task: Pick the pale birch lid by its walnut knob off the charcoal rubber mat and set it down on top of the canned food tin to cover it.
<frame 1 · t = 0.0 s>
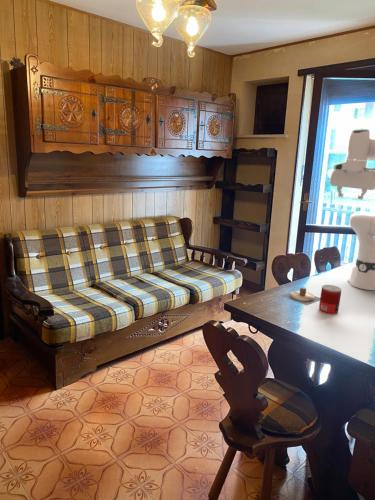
hand: (350, 198, 175), 48 cm above the table, tool pointing down, fingers open, 8 cm apart
mat: (301, 298, 183), on the table
canned food: (328, 311, 169), on the table
lid: (302, 297, 183), resting on mat
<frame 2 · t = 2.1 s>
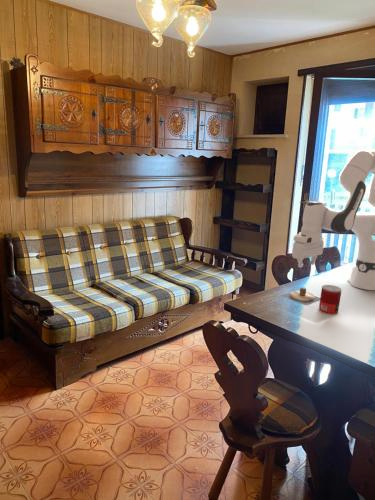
hand: (306, 265, 179), 16 cm above the table, tool pointing down, fingers open, 8 cm apart
nothing on the table moved.
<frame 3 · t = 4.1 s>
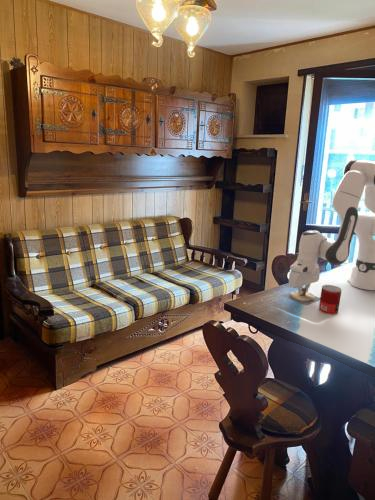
hand: (302, 293, 183), 2 cm above the table, tool pointing down, fingers closed on lid, 3 cm apart
lid: (302, 297, 183), resting on mat, touching gripper
everything else where it was.
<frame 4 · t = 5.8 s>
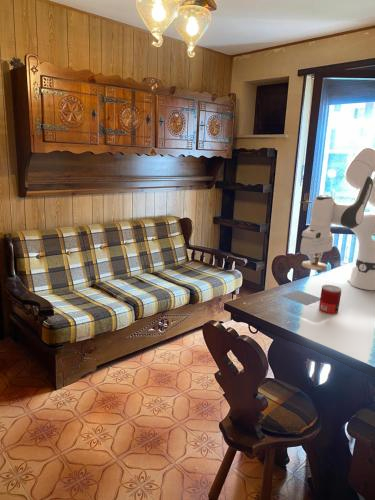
hand: (314, 262, 174), 19 cm above the table, tool pointing down, fingers closed on lid, 3 cm apart
lid: (314, 266, 175), point 17 cm above the table, touching gripper
everything else where it was.
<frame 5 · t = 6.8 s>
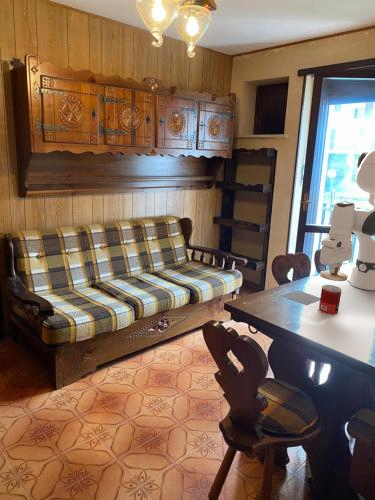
hand: (334, 272, 165), 18 cm above the table, tool pointing down, fingers closed on lid, 3 cm apart
lid: (333, 277, 165), point 16 cm above the table, touching gripper
everything else where it was.
when the fingers open (15 cm above the table, at t = 7.5 s): lid drops 2 cm, resting on canned food.
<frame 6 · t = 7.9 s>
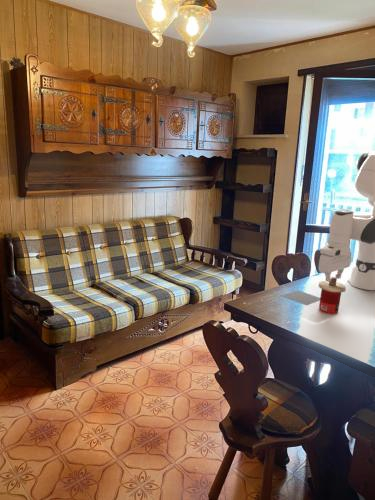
hand: (333, 279, 166), 15 cm above the table, tool pointing down, fingers open, 7 cm apart
canned food: (328, 311, 169), on the table, touching lid
lid: (331, 287, 167), point 11 cm above the table, touching canned food
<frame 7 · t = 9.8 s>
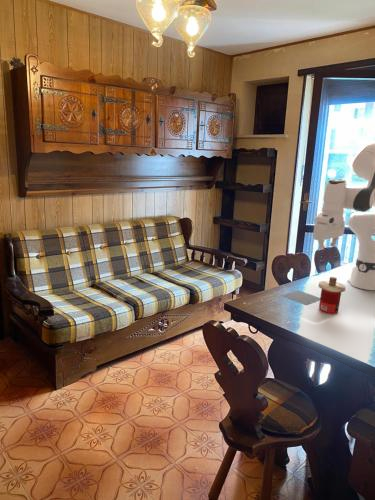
hand: (327, 247, 171), 26 cm above the table, tool pointing down, fingers open, 8 cm apart
nothing on the table moved.
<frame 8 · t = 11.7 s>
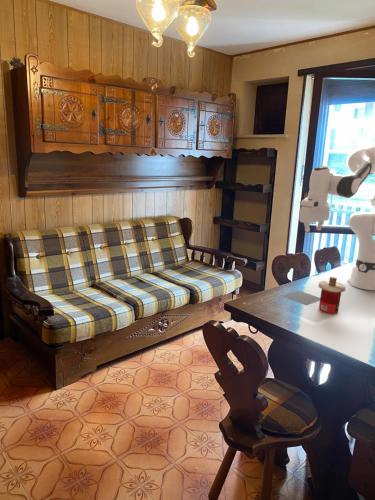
hand: (312, 230, 184), 31 cm above the table, tool pointing down, fingers open, 8 cm apart
nothing on the table moved.
at the end: lid 0.1 cm from the canned food (horizontally); lid point 10.9 cm above the table; the gripper is holding nothing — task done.
